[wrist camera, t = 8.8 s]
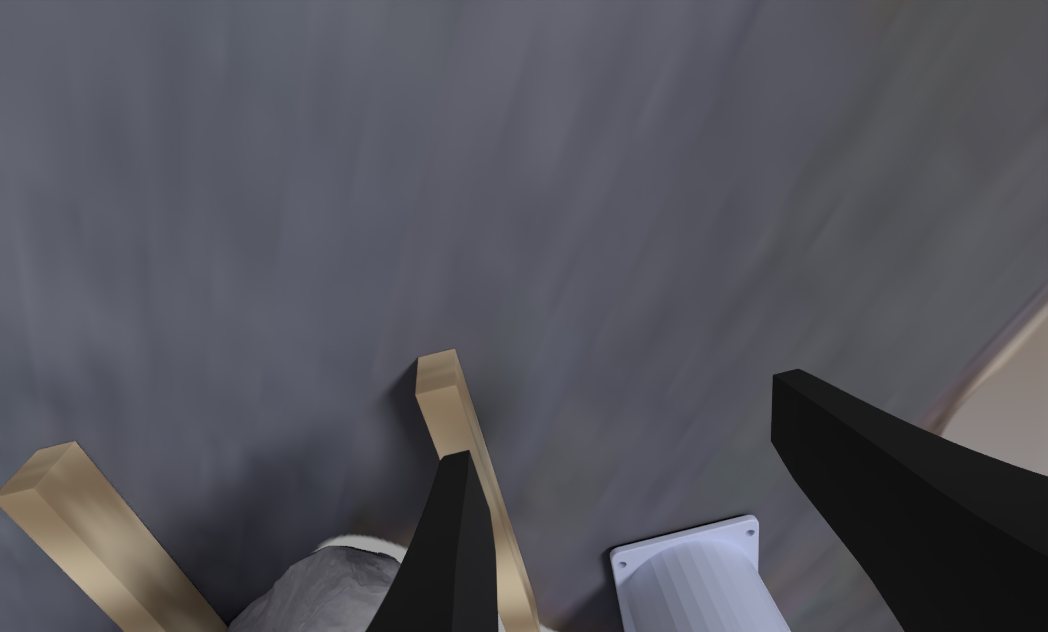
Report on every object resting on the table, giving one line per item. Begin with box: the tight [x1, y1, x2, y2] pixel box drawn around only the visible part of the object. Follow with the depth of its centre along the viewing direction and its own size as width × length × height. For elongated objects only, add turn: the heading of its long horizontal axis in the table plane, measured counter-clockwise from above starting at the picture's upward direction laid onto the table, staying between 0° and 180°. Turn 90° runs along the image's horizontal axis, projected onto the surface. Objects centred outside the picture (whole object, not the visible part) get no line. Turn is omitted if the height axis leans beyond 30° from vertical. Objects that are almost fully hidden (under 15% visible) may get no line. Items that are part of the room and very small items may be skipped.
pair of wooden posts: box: [0, 349, 540, 632], centre depth 25 cm, size 17×17×2 cm
